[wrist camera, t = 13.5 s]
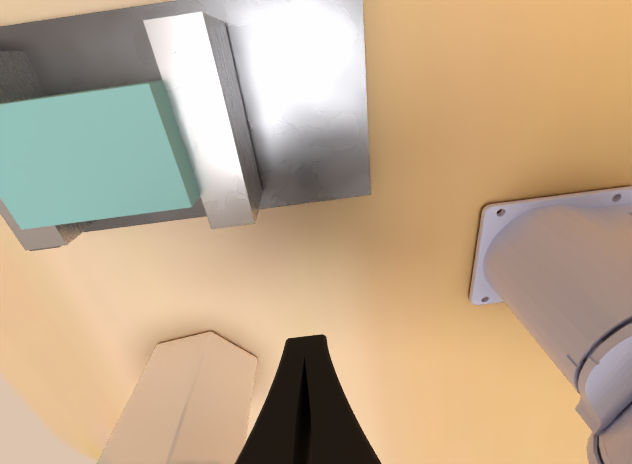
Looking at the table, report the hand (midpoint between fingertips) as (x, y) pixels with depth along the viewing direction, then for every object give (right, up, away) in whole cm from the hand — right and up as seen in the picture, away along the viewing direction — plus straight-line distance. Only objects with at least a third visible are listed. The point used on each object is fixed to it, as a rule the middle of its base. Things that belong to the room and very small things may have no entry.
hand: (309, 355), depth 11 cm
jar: (-9, -7, +15) cm, 19 cm away
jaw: (-4, +10, +4) cm, 11 cm away
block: (-9, +9, +5) cm, 14 cm away
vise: (-6, +10, +5) cm, 13 cm away
